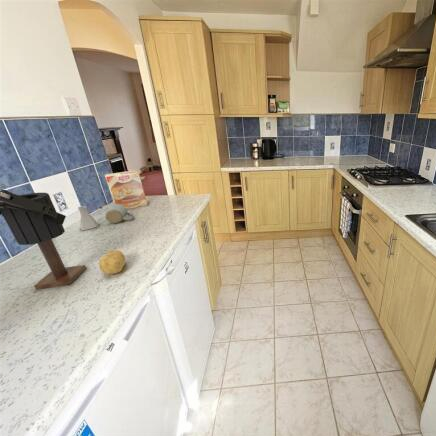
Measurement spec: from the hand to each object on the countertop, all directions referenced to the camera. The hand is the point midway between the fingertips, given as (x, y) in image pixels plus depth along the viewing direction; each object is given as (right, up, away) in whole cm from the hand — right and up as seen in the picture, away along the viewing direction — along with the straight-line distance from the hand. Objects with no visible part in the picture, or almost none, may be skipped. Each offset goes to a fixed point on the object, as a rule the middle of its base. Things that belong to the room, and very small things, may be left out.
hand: (46, 220), depth 73 cm
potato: (+15, -17, +9) cm, 24 cm away
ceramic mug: (-11, -1, +48) cm, 49 cm away
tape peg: (0, -19, +5) cm, 19 cm away
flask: (-21, -4, +41) cm, 47 cm away
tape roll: (0, -5, -1) cm, 5 cm away
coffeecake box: (-18, +7, +66) cm, 69 cm away
